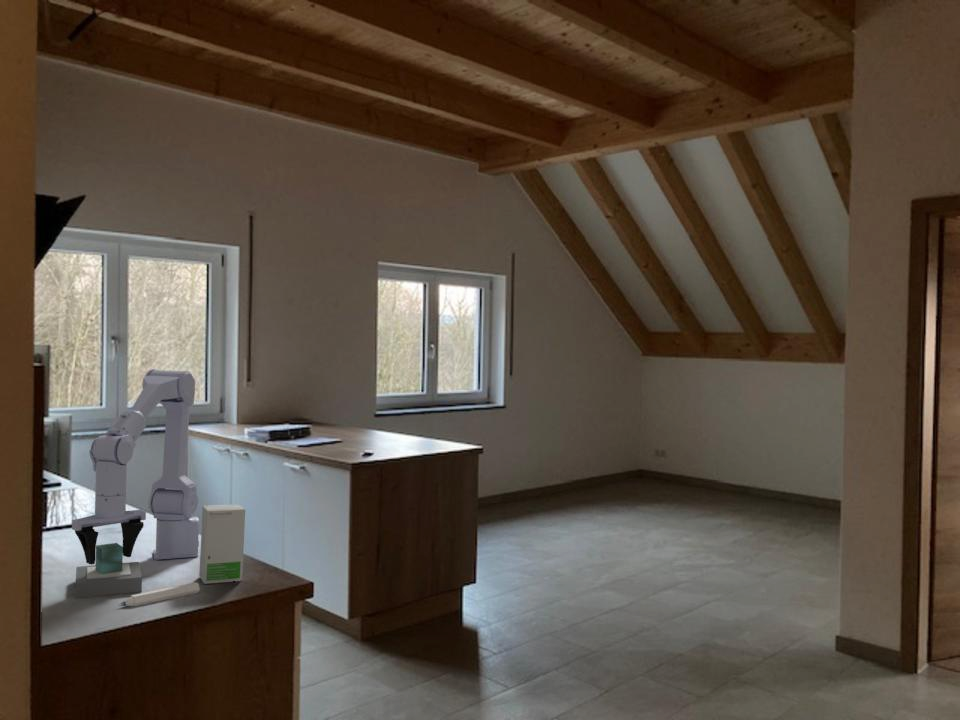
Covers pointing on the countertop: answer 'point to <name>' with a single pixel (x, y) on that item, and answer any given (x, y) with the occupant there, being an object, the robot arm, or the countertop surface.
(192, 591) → the marker
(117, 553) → the teal block
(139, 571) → the charcoal plinth
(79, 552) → the countertop surface
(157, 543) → the robot arm
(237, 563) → the skincare box
